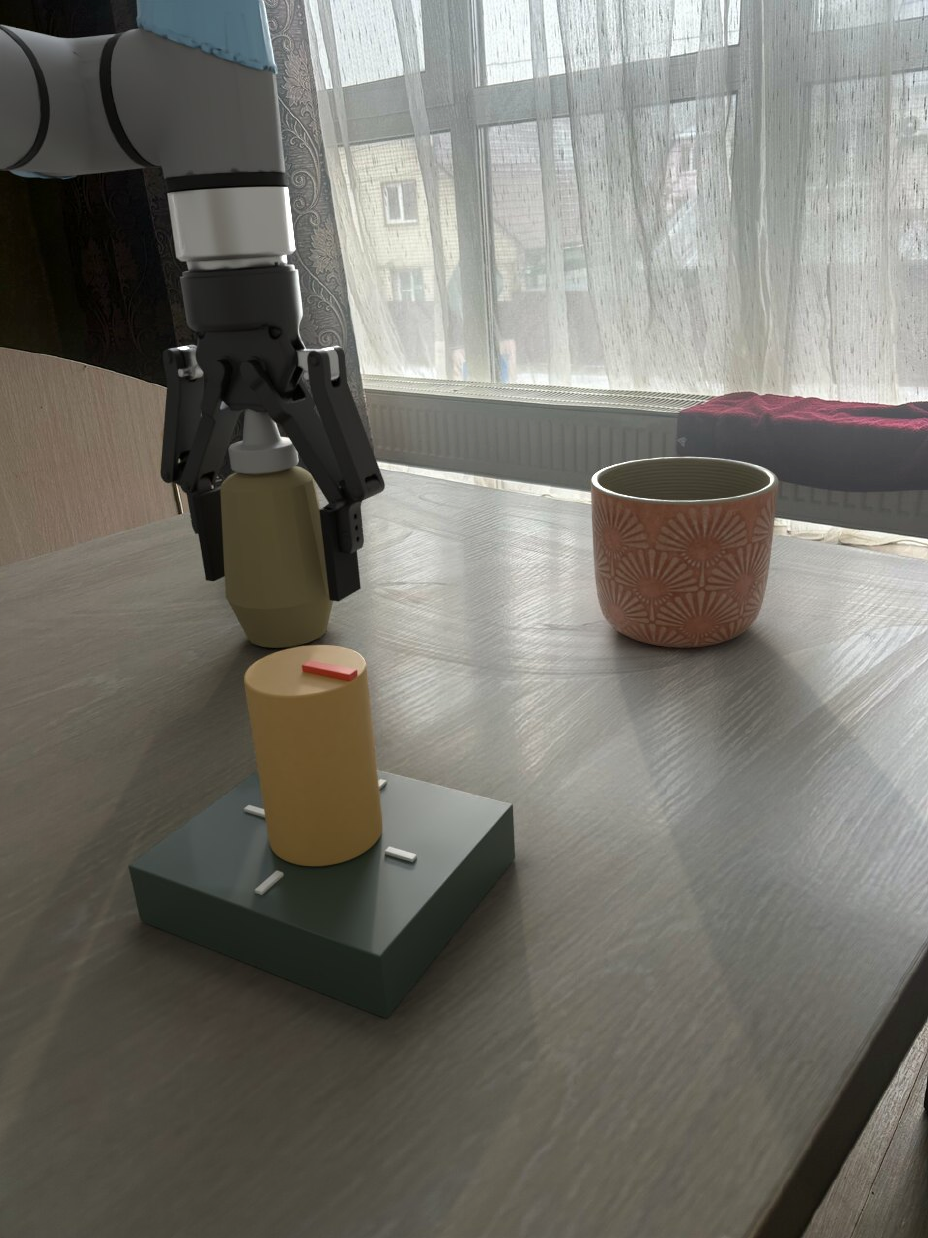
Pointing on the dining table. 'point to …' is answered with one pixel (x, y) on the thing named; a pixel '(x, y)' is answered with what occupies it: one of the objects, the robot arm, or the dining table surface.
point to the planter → (682, 547)
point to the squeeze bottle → (273, 540)
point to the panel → (331, 889)
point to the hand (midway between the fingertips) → (281, 584)
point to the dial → (315, 753)
